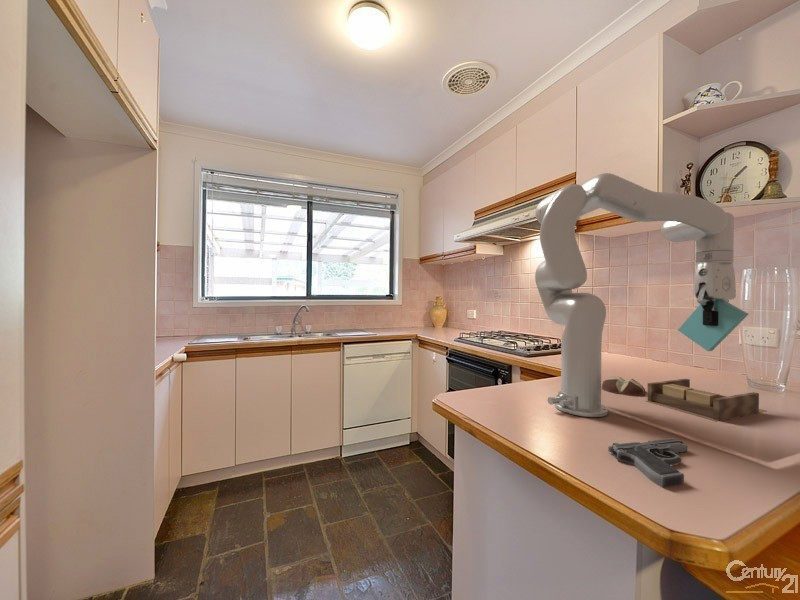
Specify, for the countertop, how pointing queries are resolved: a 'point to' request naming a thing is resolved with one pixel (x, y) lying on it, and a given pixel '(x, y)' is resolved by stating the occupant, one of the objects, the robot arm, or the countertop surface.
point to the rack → (721, 406)
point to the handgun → (653, 459)
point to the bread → (623, 386)
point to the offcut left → (675, 391)
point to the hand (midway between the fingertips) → (713, 325)
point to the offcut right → (701, 397)
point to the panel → (712, 334)
